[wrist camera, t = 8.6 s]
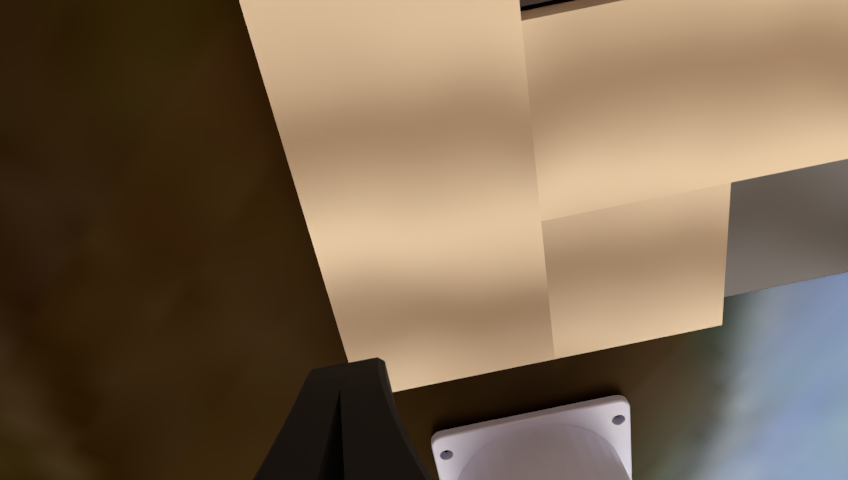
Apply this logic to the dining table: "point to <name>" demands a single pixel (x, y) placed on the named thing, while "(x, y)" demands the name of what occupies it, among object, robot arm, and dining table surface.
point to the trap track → (555, 166)
